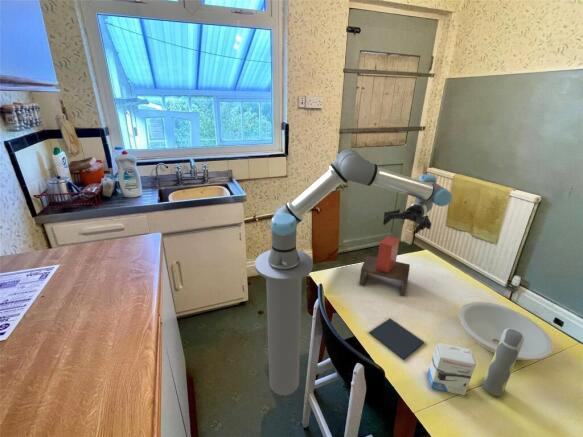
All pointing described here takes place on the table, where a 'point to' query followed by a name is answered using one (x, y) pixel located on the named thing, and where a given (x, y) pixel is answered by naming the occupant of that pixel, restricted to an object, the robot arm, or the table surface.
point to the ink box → (451, 368)
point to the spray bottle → (503, 362)
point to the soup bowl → (495, 319)
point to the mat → (396, 338)
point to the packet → (387, 253)
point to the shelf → (396, 273)
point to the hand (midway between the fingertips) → (399, 225)
